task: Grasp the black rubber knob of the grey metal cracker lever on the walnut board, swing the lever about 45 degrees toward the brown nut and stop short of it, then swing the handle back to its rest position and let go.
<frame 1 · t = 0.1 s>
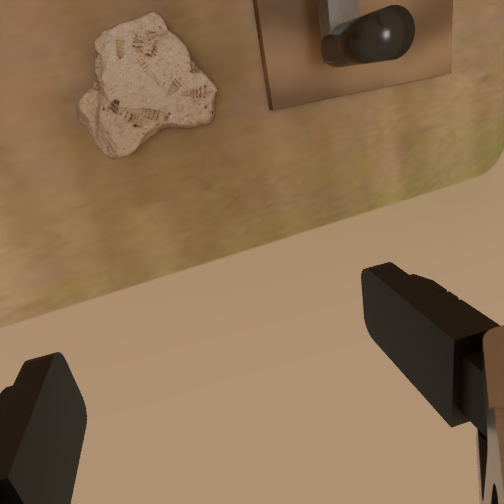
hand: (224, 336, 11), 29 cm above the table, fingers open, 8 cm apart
stone: (152, 96, 35), on the table
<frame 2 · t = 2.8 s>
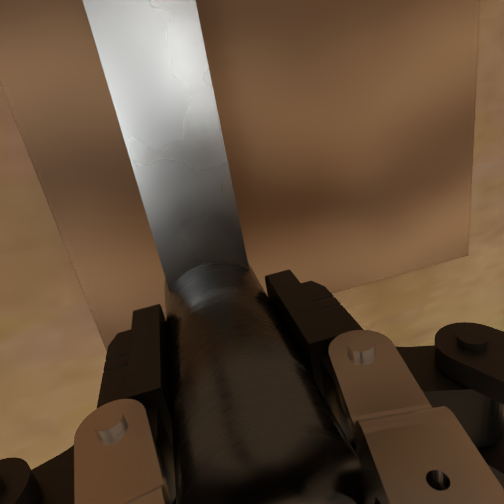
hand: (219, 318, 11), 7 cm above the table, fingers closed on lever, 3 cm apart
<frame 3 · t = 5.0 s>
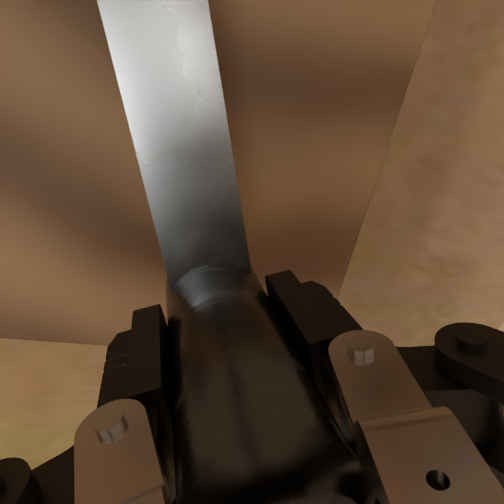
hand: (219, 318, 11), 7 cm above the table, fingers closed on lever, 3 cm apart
board: (183, 33, 15), on the table
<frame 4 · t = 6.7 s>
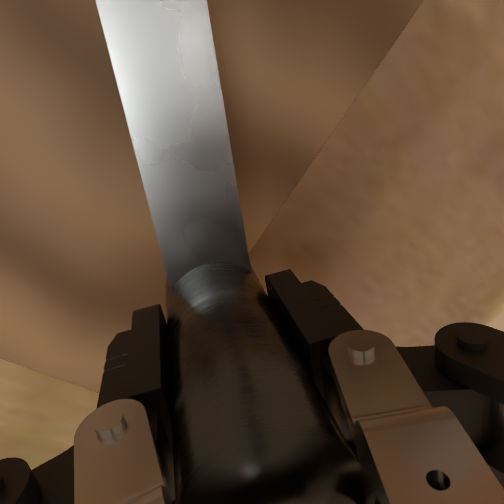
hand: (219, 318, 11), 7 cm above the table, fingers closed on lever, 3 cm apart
board: (100, 40, 14), on the table
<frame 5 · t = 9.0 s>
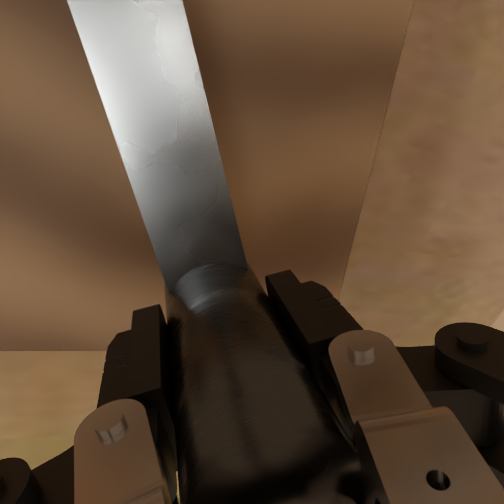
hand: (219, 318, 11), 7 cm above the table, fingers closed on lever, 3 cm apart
board: (166, 33, 15), on the table
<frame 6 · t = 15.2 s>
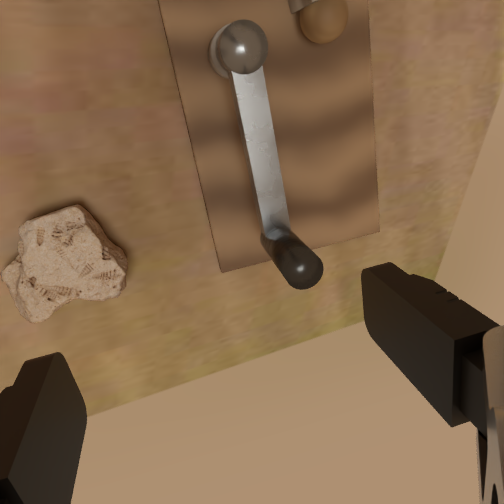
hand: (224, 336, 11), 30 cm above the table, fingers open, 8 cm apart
board: (282, 126, 39), on the table
stone: (75, 258, 40), on the table
lever: (270, 156, 31), point 9 cm above the table, hinge at 1.5°
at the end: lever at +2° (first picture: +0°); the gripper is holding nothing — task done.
